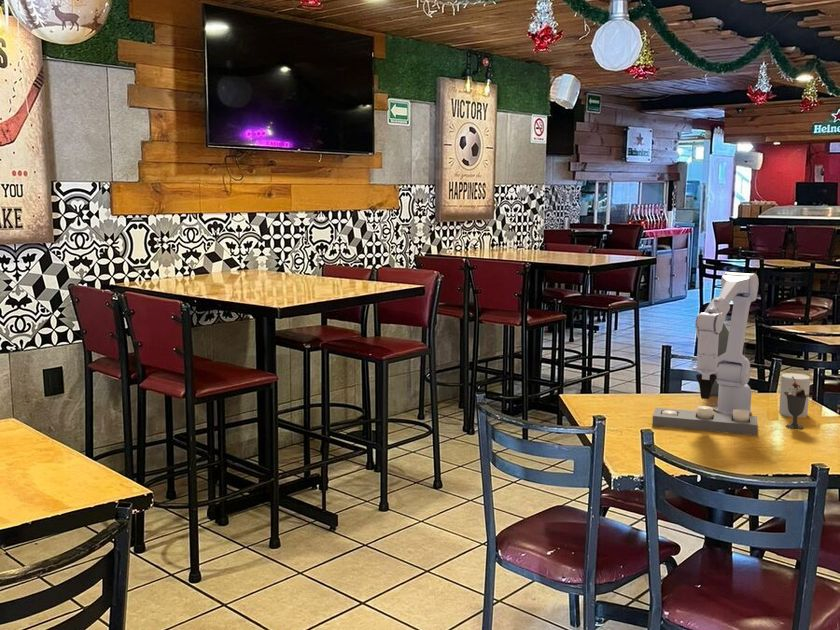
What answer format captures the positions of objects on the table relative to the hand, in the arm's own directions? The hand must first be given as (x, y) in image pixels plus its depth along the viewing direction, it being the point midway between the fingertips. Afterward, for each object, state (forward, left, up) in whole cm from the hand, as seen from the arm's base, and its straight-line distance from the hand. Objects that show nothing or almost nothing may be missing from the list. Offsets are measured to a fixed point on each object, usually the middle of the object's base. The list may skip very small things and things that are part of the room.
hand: (705, 398), depth 246 cm
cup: (-35, -5, -9) cm, 36 cm away
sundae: (-25, +8, -9) cm, 28 cm away
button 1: (+8, -6, -8) cm, 13 cm away
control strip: (0, 0, -8) cm, 8 cm away
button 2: (-8, +6, -6) cm, 12 cm away
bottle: (-27, -34, -9) cm, 44 cm away
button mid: (0, 0, -6) cm, 6 cm away
